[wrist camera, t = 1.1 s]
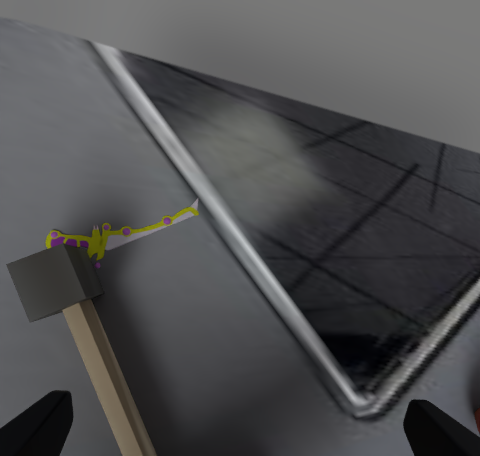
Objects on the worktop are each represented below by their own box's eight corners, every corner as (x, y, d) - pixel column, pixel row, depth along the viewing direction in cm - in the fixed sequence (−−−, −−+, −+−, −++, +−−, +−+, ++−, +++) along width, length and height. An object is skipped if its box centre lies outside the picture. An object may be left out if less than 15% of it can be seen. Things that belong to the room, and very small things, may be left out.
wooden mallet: (135, 487, 20) (124, 555, 15) (44, 267, 21) (6, 264, 16) (176, 460, 21) (178, 516, 16) (86, 250, 21) (62, 242, 17)
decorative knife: (205, 255, 24) (197, 197, 25) (206, 255, 24) (198, 196, 24) (50, 276, 21) (44, 210, 21) (47, 277, 20) (41, 208, 21)
